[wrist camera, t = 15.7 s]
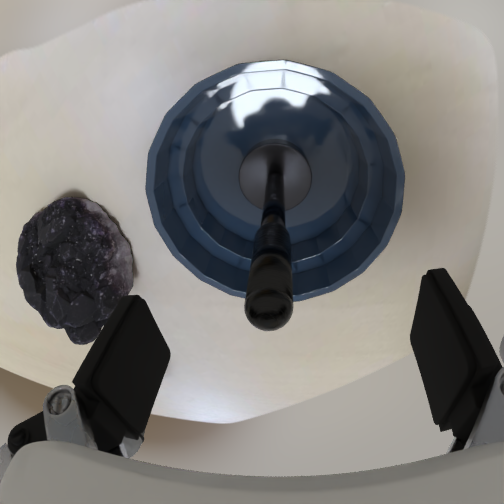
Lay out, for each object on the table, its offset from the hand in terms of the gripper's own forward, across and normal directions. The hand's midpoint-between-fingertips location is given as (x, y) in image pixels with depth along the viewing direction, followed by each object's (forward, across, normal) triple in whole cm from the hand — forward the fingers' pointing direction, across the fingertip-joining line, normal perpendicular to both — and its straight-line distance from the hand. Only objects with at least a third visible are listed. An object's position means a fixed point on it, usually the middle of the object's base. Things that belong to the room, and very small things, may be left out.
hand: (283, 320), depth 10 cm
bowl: (+16, +1, 0) cm, 16 cm away
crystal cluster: (+16, +22, +4) cm, 27 cm away
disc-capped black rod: (+15, +1, 0) cm, 15 cm away
